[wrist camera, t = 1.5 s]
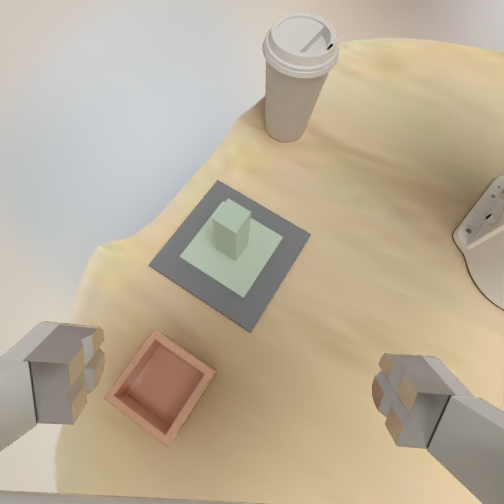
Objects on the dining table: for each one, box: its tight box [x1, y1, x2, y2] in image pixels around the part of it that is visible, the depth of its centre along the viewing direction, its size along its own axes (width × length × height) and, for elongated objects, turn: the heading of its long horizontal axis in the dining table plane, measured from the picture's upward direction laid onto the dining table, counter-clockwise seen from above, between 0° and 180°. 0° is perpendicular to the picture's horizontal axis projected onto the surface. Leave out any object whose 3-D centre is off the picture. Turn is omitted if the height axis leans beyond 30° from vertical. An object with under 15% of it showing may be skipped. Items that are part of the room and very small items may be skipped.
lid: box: [180, 198, 283, 299], centre depth 37 cm, size 10×10×10 cm
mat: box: [149, 180, 311, 332], centre depth 42 cm, size 16×16×1 cm
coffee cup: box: [263, 12, 338, 142], centre depth 43 cm, size 10×10×15 cm
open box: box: [104, 330, 216, 446], centre depth 34 cm, size 8×8×4 cm
